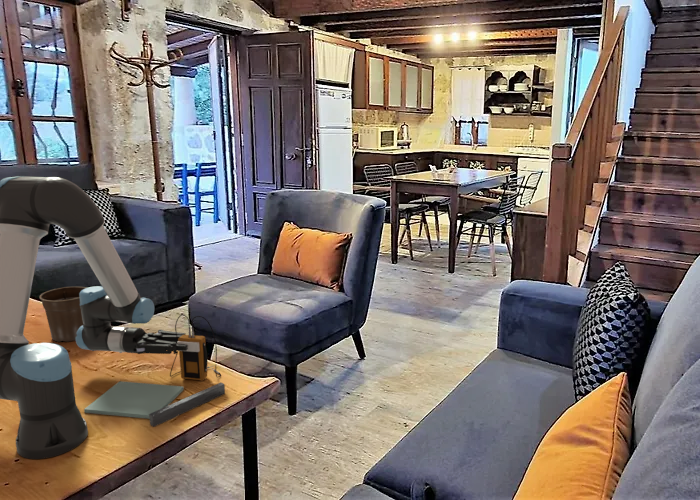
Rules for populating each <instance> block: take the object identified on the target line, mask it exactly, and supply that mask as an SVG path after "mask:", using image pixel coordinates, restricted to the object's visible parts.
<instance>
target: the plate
mask: <svg viewBox="0 0 700 500" xmlns="http://www.w3.org/2000/svg"><path fill="white" fill-rule="evenodd" d="M183 391H184V385H183V386H182V385H181V386H180V385H169V384H157V383H156V384H155V383H146V382H145V383H144V382H134V381H121V380H120V381H118V382H117V383H115V384H114V385H113V386H111V387H110V388H109V389H107V391H105V392H104V393H103V394H101V395H100V396H99V397H97V399H95V400H94V401H93V402H91V403H90V404H89V405H87V406H86V407H85V408H83V409H84V410H83V411H84V414H96V415H105V416H107V415H108V416H117V417H126V418H137V419H138V418H139V419H148V420H150V418H149V414H151V413H153V412H155V411H157V410H160V409H162V408H164V407H166V406H169V405H171V404H172V402H173V401H174V400H175V399H176V398H177V397H179V395H180V394H181V393H182V392H183Z"/></svg>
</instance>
